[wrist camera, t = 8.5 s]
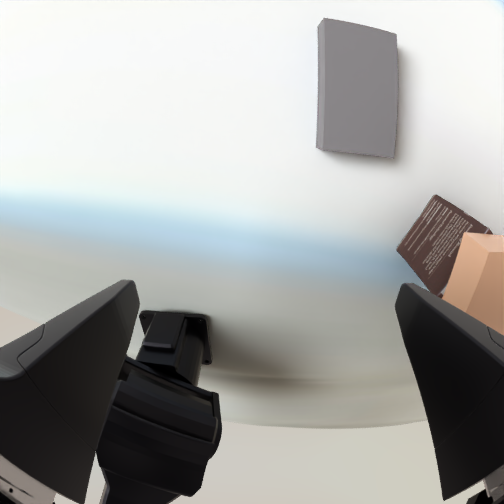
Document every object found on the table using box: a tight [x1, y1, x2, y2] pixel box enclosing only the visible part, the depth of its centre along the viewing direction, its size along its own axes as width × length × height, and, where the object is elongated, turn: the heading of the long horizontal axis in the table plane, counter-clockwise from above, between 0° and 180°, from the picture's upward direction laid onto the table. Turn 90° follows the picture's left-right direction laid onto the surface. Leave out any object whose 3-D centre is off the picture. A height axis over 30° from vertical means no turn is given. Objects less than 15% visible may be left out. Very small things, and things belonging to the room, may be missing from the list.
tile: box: [442, 232, 504, 335], centre depth 13 cm, size 7×7×2 cm
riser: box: [316, 18, 398, 158], centre depth 15 cm, size 9×5×2 cm, turn 0°
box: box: [396, 195, 493, 299], centre depth 17 cm, size 6×6×7 cm
